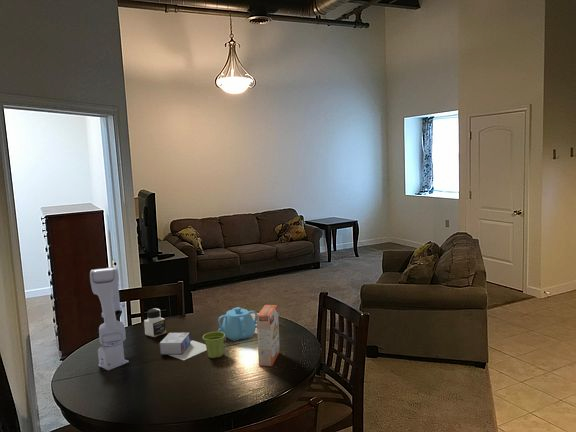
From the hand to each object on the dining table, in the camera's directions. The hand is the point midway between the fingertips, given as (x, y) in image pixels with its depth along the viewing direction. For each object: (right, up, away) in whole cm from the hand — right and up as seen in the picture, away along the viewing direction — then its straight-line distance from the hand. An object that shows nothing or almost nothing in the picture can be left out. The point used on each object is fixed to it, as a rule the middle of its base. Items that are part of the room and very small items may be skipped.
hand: (115, 327), depth 210 cm
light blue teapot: (+54, -7, +11) cm, 55 cm away
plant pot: (+46, -10, -9) cm, 48 cm away
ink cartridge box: (+26, -7, -8) cm, 29 cm away
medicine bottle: (+12, -8, +19) cm, 24 cm away
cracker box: (+69, -9, -16) cm, 71 cm away
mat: (+33, -9, -3) cm, 34 cm away
